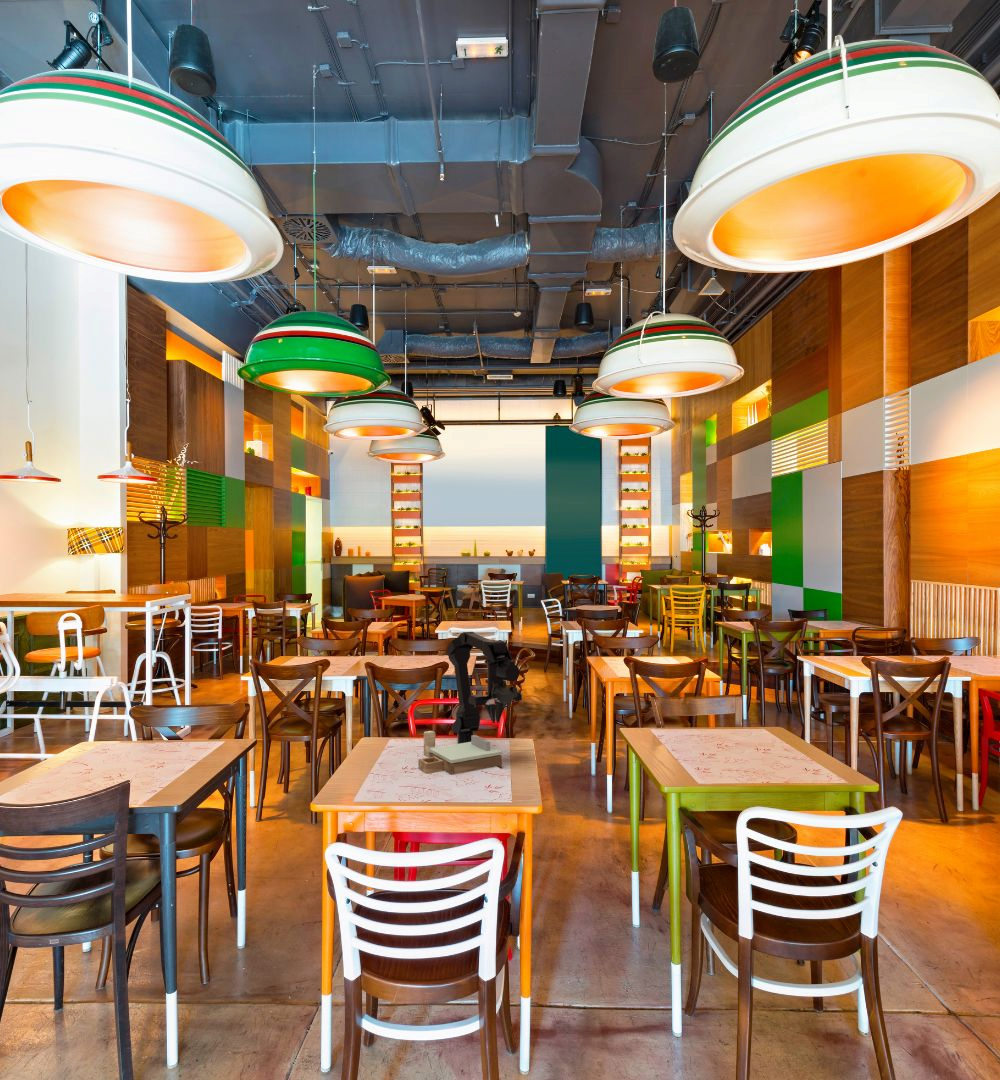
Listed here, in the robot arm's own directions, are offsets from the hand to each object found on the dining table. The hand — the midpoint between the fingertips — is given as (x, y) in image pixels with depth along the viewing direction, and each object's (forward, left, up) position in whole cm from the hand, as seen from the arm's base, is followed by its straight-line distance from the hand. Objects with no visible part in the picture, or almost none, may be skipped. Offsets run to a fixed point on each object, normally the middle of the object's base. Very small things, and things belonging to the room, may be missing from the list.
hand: (495, 722), depth 228 cm
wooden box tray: (0, -15, -13) cm, 20 cm away
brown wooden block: (-15, -18, -13) cm, 27 cm away
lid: (0, -12, -9) cm, 15 cm away
